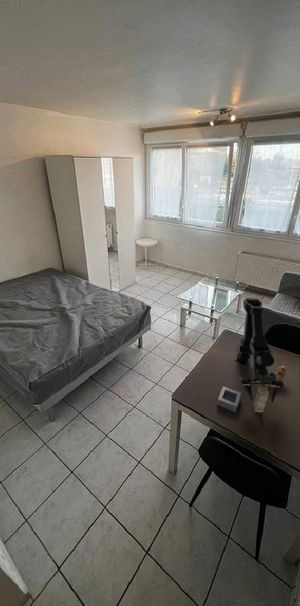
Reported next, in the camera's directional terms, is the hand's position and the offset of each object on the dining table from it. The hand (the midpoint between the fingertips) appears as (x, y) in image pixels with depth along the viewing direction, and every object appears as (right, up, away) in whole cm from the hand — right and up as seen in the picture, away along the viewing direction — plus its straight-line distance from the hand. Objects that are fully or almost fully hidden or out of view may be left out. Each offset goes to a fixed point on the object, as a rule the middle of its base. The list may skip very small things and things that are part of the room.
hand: (261, 401), depth 118 cm
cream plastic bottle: (0, -5, +5) cm, 7 cm away
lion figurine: (+14, +3, +19) cm, 24 cm away
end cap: (-13, -3, +8) cm, 16 cm away
